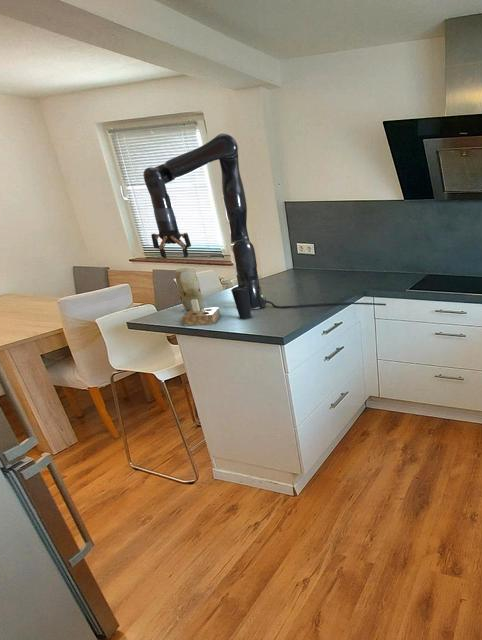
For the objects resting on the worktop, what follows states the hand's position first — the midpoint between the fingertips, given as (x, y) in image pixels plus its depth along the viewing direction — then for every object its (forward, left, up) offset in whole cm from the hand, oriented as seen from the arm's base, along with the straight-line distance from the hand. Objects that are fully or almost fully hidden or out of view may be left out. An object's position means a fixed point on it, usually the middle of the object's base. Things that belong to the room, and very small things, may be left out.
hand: (175, 257), depth 171 cm
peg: (-7, +10, -26) cm, 29 cm away
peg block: (-9, +13, -26) cm, 31 cm away
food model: (0, -7, -26) cm, 27 cm away
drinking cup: (-27, +13, -26) cm, 40 cm away
